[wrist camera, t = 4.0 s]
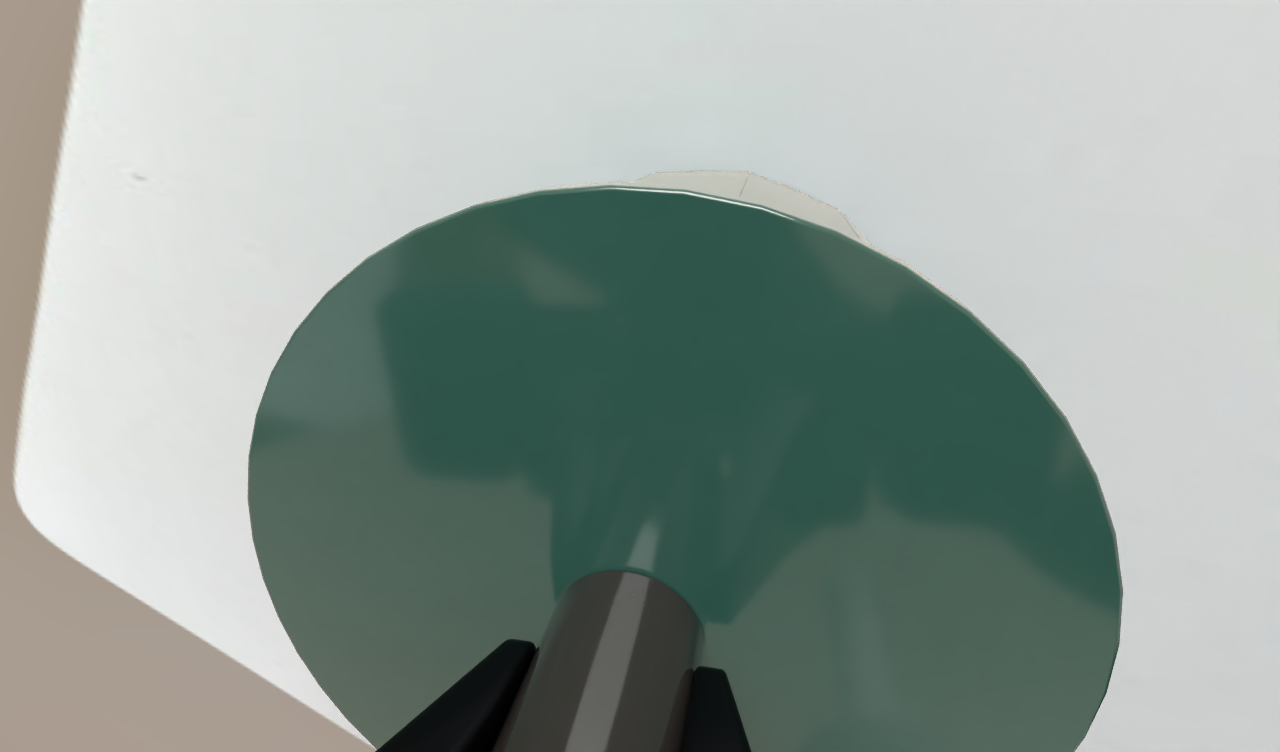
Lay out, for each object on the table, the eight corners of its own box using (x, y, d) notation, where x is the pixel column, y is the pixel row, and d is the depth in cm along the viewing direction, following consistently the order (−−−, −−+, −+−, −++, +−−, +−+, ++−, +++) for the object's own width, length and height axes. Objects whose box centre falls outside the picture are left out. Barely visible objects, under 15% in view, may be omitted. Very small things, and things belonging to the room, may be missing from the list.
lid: (1222, 171, 7) (2598, 331, 2) (987, 894, 12) (1146, 1468, 7) (199, 180, 9) (-488, 255, 4) (371, 772, 14) (154, 1125, 9)
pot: (954, 167, 15) (1072, 197, 9) (888, 570, 20) (937, 760, 14) (486, 172, 17) (340, 199, 12) (527, 531, 22) (439, 680, 16)
